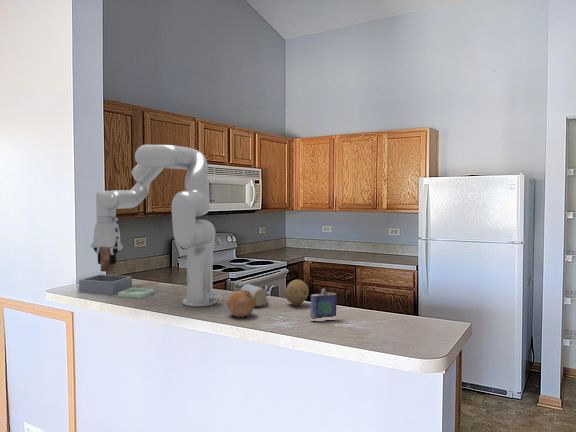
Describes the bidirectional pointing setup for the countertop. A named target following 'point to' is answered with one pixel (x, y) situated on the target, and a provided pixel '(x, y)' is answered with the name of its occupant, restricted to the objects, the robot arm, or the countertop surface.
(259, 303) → the ceramic mug
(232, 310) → the onion
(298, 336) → the countertop surface
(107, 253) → the walnut cylinder
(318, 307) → the flask
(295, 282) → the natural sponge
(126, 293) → the tray
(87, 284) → the deep bin
